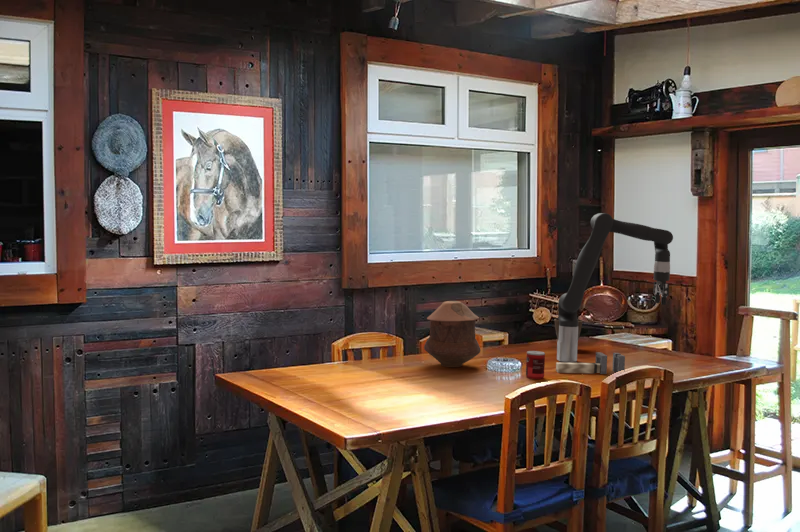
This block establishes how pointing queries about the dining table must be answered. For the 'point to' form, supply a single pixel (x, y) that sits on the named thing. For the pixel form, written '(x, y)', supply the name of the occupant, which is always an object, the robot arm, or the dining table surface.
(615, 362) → the iron collars
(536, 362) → the canned food
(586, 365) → the ash bar
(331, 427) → the dining table surface
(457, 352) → the pottery vessel
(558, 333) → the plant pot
